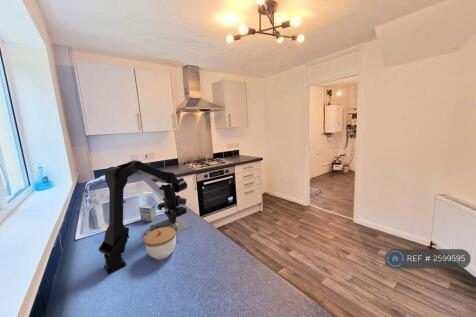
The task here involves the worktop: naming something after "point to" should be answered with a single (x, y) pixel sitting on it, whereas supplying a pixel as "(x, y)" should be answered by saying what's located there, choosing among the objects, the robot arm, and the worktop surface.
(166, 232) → the lidded bowl
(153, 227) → the cable arm
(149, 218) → the medicine box
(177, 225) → the chassis plate
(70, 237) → the worktop surface
